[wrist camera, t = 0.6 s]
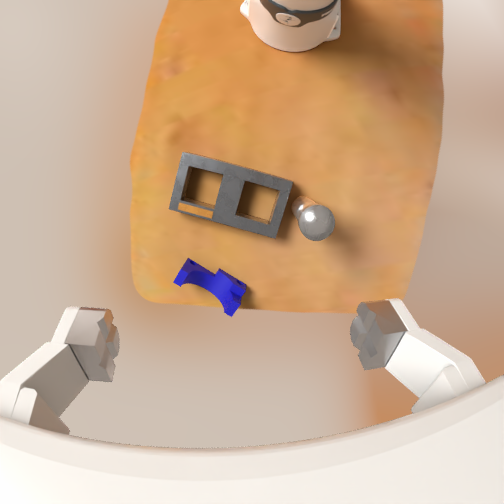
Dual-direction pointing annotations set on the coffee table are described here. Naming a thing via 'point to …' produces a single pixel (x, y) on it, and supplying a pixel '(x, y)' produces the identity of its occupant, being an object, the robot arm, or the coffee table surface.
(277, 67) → the coffee table surface
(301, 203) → the steel bushing
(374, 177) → the coffee table surface
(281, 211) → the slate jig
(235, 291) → the cable clip
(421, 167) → the coffee table surface
